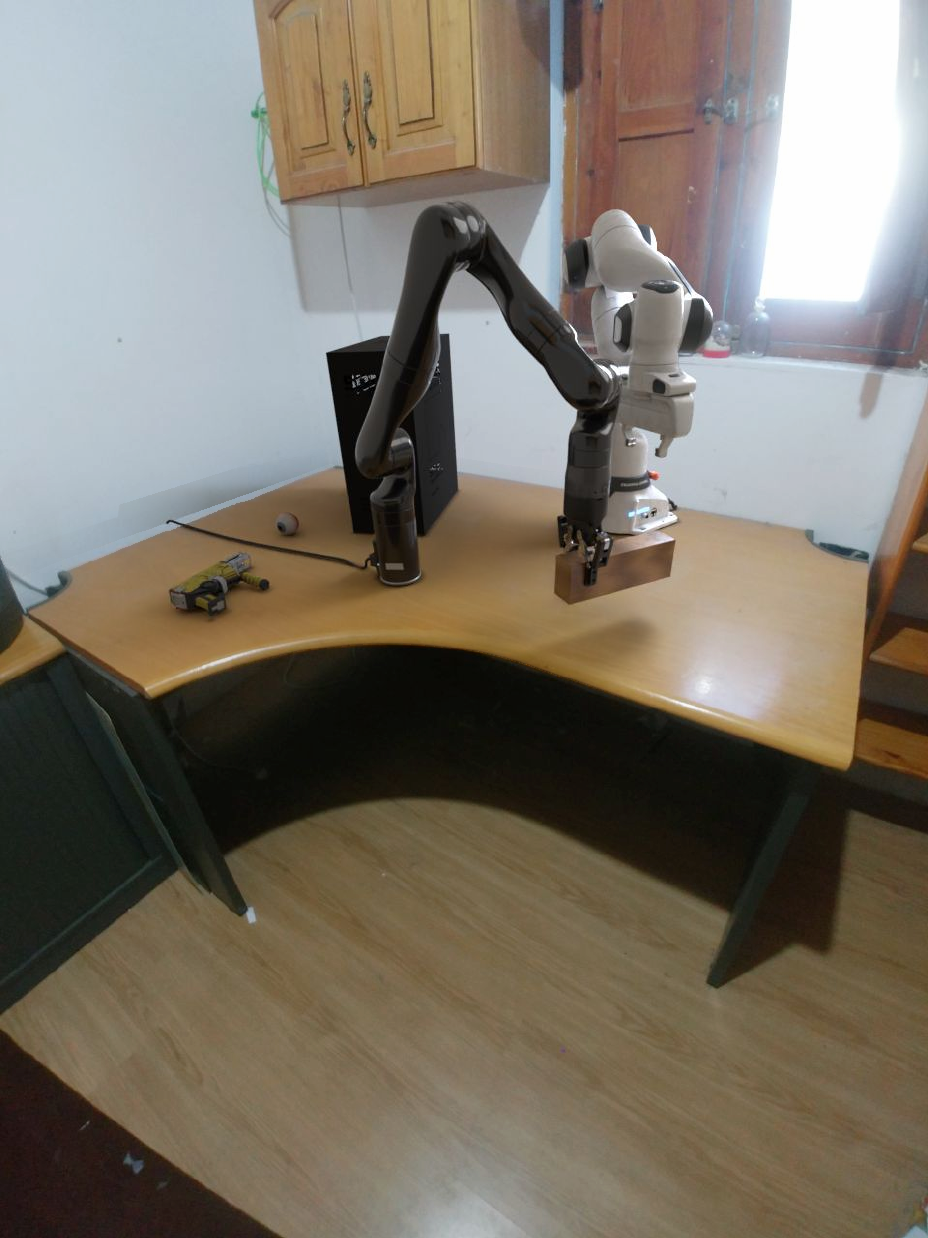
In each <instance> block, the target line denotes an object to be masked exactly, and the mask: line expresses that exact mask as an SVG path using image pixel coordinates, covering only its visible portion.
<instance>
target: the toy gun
mask: <svg viewBox="0 0 928 1238" xmlns="http://www.w3.org/2000/svg"><path fill="white" fill-rule="evenodd" d="M248 559H249V563H248V564H247V563H245V561H247V560H248ZM251 562H252V561H251V555H250V554H249V553H248V552H246V551H245V552H244V553H243V551H238V552H237V553H234V554H232V555H231V556H229V557H227V558H225V559H224V560H220V561H218V562H216V563H215V564H213V565H211V566H209V567H207V568H206V569H204V570H202V571H200V572H198V573H196V574H195V575H192V576H191V577H189V578H187V579H186V580H183V581H181V582H180V583H178V584H176V585H174V586H173V587H170V588H169V589H168V594H169V599H170V603H171V605H172V606H173V607H174V608H175V610H179V611H184V610H187V611H189V610H195V609H199V608H202V609H205V610H206V611H208V616H209V617H214V616H216V615H218V614H220V613H223V611H225V610H227V603H226V597H225V595H226V594H227V593H228V591H229V588H231V587H233V586H236V585H238V584H239V583H241V582H242V583H245V584H247V585H250V586H252V587H255V588H258V589H260V590H261V591H266V590H268V589H269V588H270V581H269V579H267V578H262V577H260V576H257V575H254V574H251V573H249V572H247V571H246V572H244V571H245V570H246V569H248V568H251V567H252V563H251ZM242 572H243V573H242ZM240 573H242V574H241V575H240Z"/></svg>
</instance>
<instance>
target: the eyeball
mask: <svg viewBox="0 0 928 1238" xmlns="http://www.w3.org/2000/svg"><path fill="white" fill-rule="evenodd" d="M299 525H300V522H299V519H298V517H297V516H296V515H295V514H294V513H292V512H287V511H286V512H282V513H280V514H279V515H278V516H277V517H276V520H275V527H276V529H277V530H278V531H279V532H280V533H281V534H282V535H285V536H286V535H287V536H289V535H293V534H295V533H296V532H297V531H298V529H299Z"/></svg>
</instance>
